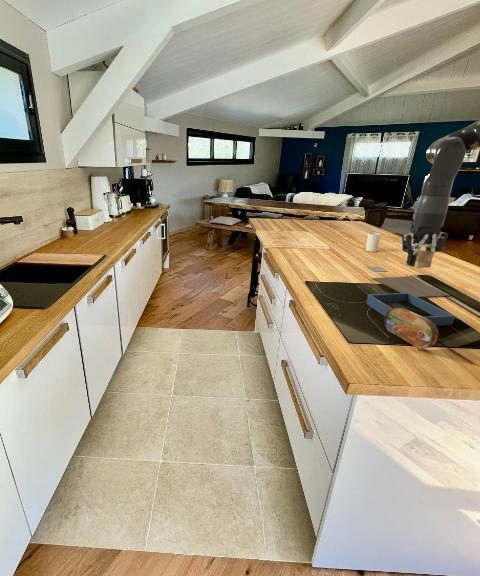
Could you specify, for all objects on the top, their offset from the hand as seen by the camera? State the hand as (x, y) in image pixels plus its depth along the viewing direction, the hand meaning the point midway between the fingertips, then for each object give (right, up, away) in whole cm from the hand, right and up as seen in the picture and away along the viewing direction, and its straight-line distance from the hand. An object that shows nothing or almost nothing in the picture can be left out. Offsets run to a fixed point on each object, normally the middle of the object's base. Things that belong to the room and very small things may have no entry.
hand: (418, 265), depth 100 cm
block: (0, 0, 0) cm, 0 cm away
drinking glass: (-19, +3, +58) cm, 62 cm away
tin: (-11, -22, -11) cm, 27 cm away
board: (+15, -8, +26) cm, 31 cm away
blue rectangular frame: (-1, -16, +4) cm, 17 cm away
